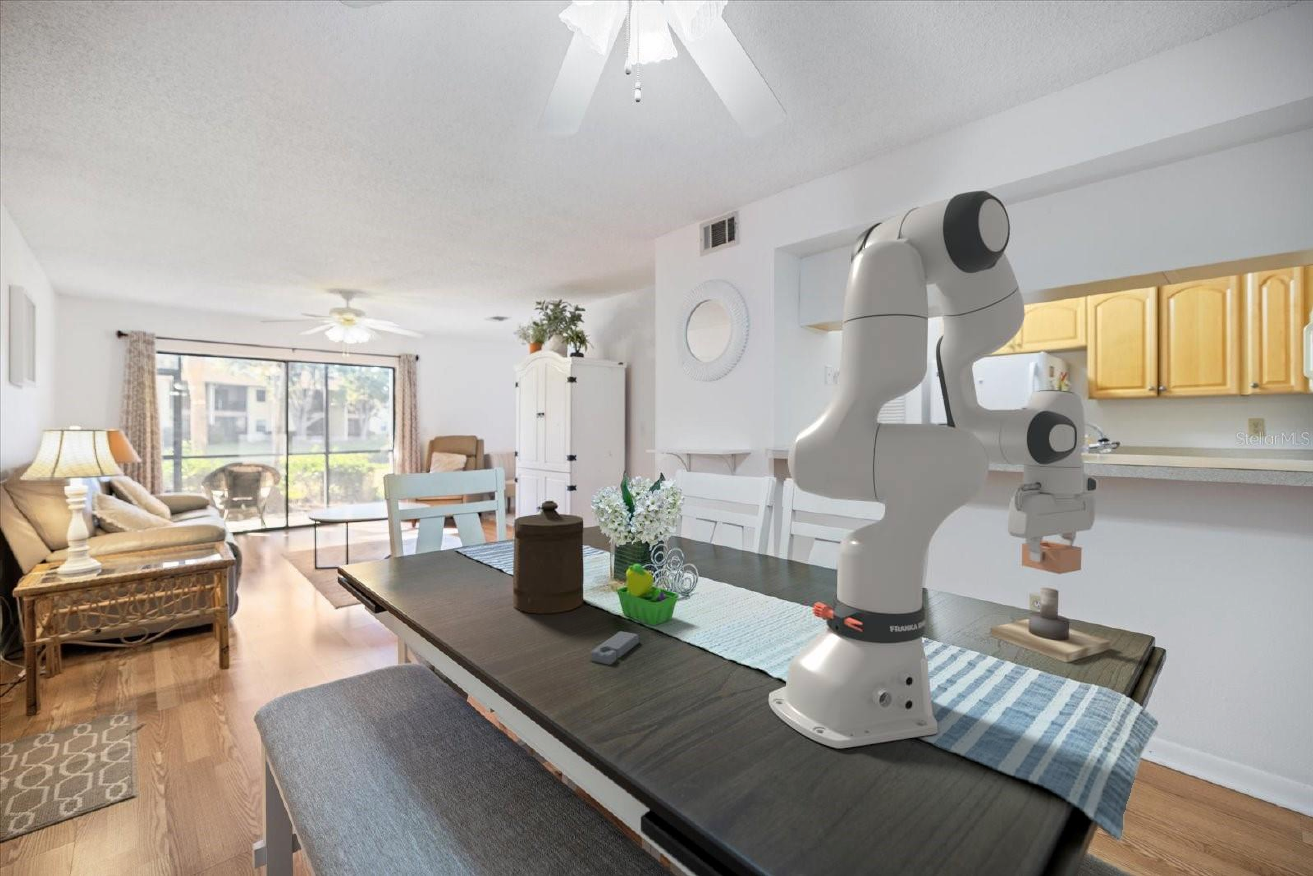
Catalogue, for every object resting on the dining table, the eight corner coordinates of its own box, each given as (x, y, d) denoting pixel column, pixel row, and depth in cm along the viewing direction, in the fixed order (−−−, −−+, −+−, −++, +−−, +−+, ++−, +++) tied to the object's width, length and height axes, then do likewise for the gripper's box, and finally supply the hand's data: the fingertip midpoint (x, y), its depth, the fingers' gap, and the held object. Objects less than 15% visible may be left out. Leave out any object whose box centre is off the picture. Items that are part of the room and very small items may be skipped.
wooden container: (575, 590, 132) (575, 495, 131) (590, 610, 118) (591, 504, 118) (509, 596, 127) (509, 498, 126) (517, 618, 113) (517, 507, 112)
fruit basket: (680, 619, 113) (681, 563, 112) (648, 630, 107) (648, 570, 106) (641, 606, 121) (642, 553, 121) (609, 616, 115) (609, 560, 114)
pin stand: (1066, 662, 94) (1067, 605, 93) (990, 635, 105) (991, 584, 105) (1109, 649, 99) (1111, 595, 99) (1033, 625, 111) (1034, 577, 111)
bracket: (639, 645, 101) (639, 633, 101) (610, 667, 91) (610, 655, 91) (619, 641, 102) (619, 630, 102) (589, 663, 93) (589, 651, 93)
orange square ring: (1059, 574, 98) (1060, 551, 98) (1021, 565, 104) (1022, 543, 103) (1080, 569, 101) (1081, 547, 100) (1042, 561, 106) (1043, 540, 106)
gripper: (1035, 486, 94) (1033, 569, 95) (1104, 481, 103) (1101, 556, 104) (998, 482, 100) (996, 560, 100) (1066, 477, 109) (1064, 549, 109)
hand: (1050, 558), depth 102 cm, fingers closed on orange square ring, 6 cm apart
